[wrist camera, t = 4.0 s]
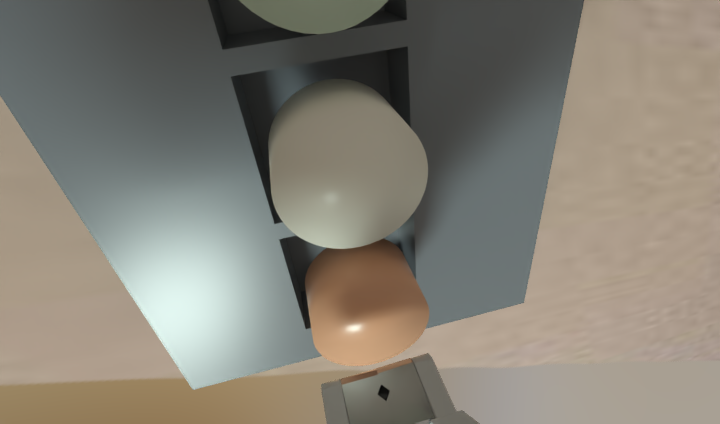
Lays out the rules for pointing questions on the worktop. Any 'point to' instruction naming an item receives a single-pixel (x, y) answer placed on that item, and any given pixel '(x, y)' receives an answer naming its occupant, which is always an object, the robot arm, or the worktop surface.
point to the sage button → (314, 13)
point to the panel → (251, 155)
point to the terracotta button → (364, 304)
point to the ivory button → (344, 165)
